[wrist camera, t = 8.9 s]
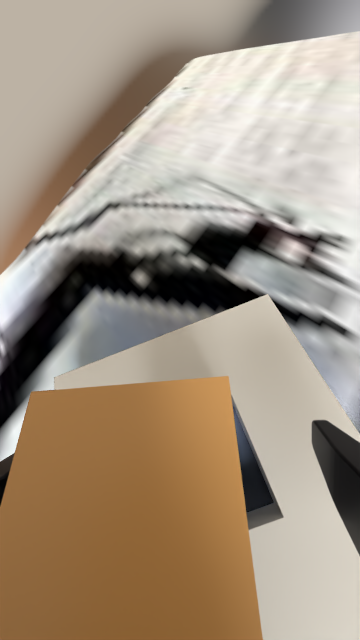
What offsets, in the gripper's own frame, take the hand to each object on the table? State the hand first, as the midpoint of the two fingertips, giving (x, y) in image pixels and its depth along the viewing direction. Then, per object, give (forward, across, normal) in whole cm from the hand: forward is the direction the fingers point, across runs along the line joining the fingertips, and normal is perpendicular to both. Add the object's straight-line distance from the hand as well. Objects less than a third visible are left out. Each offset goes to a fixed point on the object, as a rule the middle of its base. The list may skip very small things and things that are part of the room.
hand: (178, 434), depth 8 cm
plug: (+5, 0, +7) cm, 8 cm away
